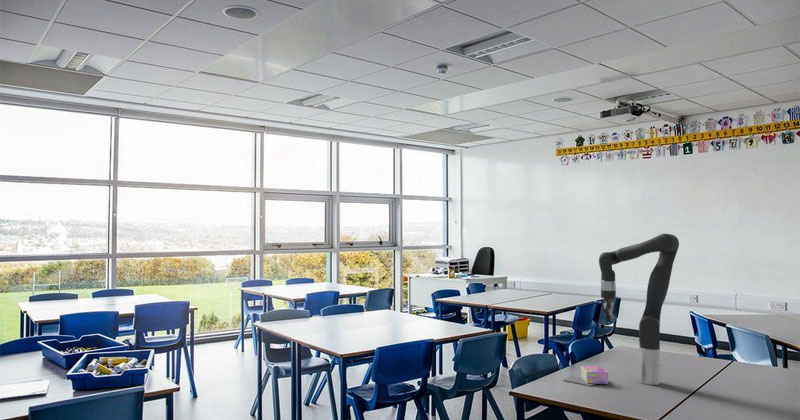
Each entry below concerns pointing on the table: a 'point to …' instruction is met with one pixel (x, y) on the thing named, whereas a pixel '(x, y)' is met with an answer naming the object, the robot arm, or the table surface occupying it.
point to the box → (594, 375)
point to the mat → (578, 381)
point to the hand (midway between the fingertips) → (608, 321)
